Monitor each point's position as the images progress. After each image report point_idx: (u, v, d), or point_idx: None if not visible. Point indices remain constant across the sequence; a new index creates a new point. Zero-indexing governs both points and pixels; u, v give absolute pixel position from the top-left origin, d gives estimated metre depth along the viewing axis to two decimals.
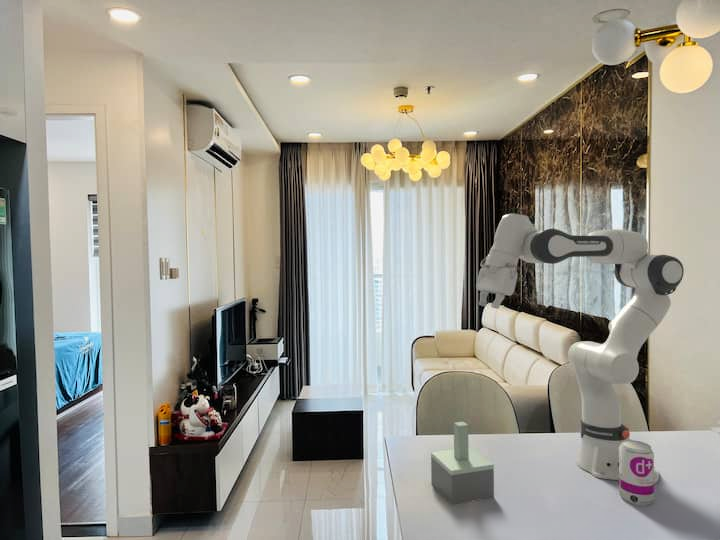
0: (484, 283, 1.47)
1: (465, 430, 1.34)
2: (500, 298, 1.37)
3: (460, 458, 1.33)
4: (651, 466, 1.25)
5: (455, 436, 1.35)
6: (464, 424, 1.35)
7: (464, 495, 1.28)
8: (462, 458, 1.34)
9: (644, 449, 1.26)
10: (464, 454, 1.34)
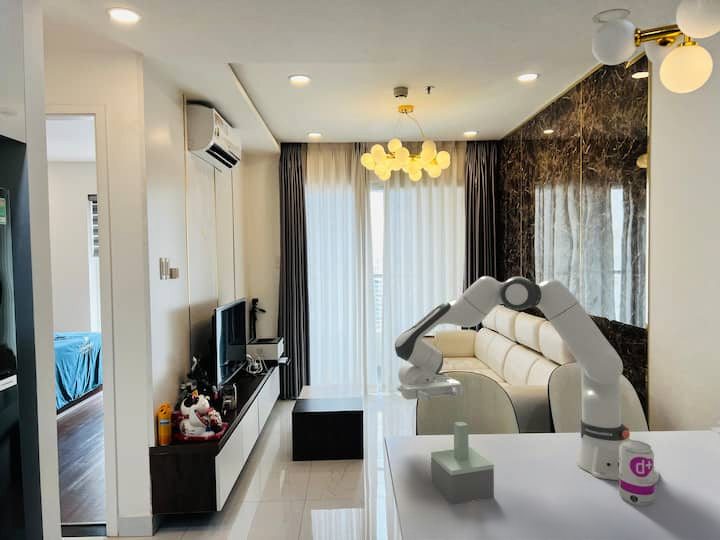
0: None
1: (465, 430, 1.34)
2: (419, 394, 1.48)
3: (460, 458, 1.33)
4: (651, 466, 1.25)
5: (455, 436, 1.35)
6: (464, 424, 1.35)
7: (464, 495, 1.28)
8: (462, 458, 1.34)
9: (644, 449, 1.26)
10: (464, 454, 1.34)
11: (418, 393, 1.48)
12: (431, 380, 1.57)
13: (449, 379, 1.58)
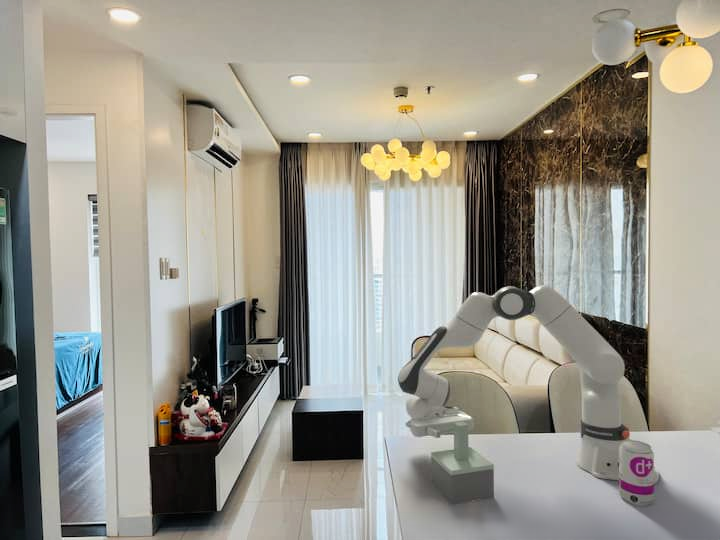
0: None
1: (465, 430, 1.34)
2: (428, 432, 1.42)
3: (460, 458, 1.33)
4: (651, 466, 1.25)
5: (455, 436, 1.35)
6: (464, 424, 1.35)
7: (464, 495, 1.28)
8: (462, 458, 1.34)
9: (644, 449, 1.26)
10: (464, 454, 1.34)
11: (428, 430, 1.42)
12: (441, 414, 1.51)
13: (459, 413, 1.52)
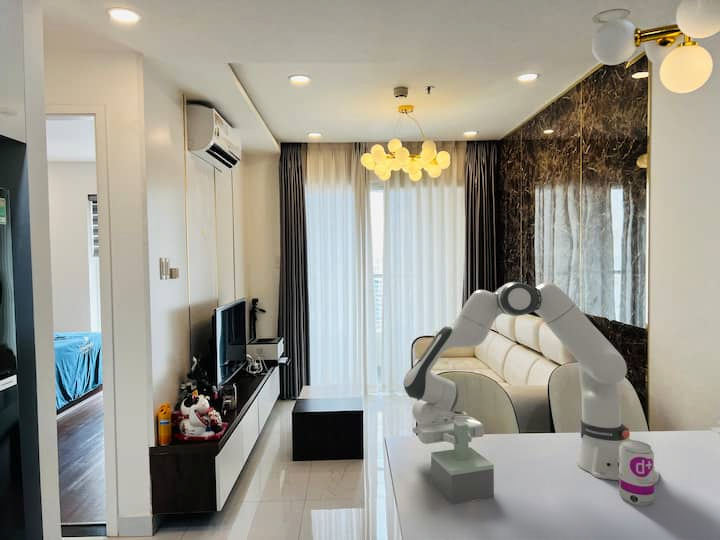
0: None
1: (465, 430, 1.34)
2: (445, 437, 1.36)
3: (460, 458, 1.33)
4: (651, 466, 1.25)
5: None
6: (464, 424, 1.35)
7: (464, 495, 1.28)
8: (462, 458, 1.34)
9: (644, 449, 1.26)
10: (464, 454, 1.34)
11: (444, 436, 1.37)
12: (449, 420, 1.45)
13: (469, 419, 1.46)
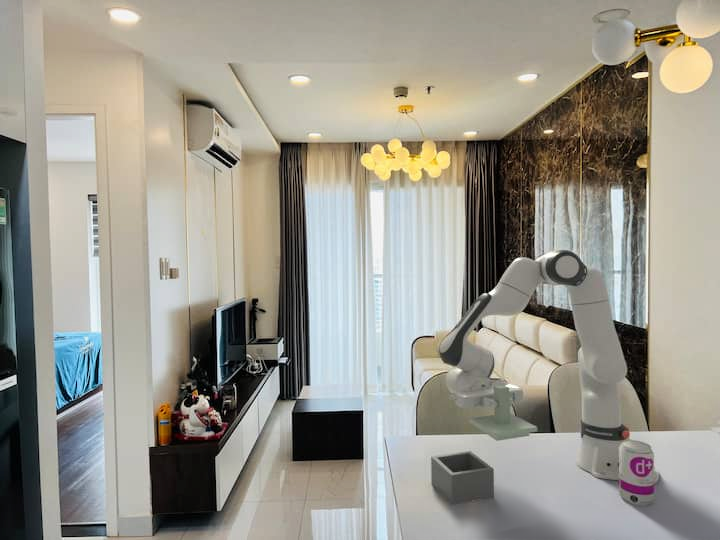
0: None
1: (506, 393, 1.30)
2: (485, 402, 1.32)
3: (502, 422, 1.29)
4: (651, 466, 1.25)
5: None
6: (505, 387, 1.31)
7: (464, 495, 1.28)
8: (504, 422, 1.30)
9: (644, 449, 1.26)
10: (505, 417, 1.30)
11: (484, 400, 1.32)
12: (487, 386, 1.41)
13: (507, 384, 1.42)
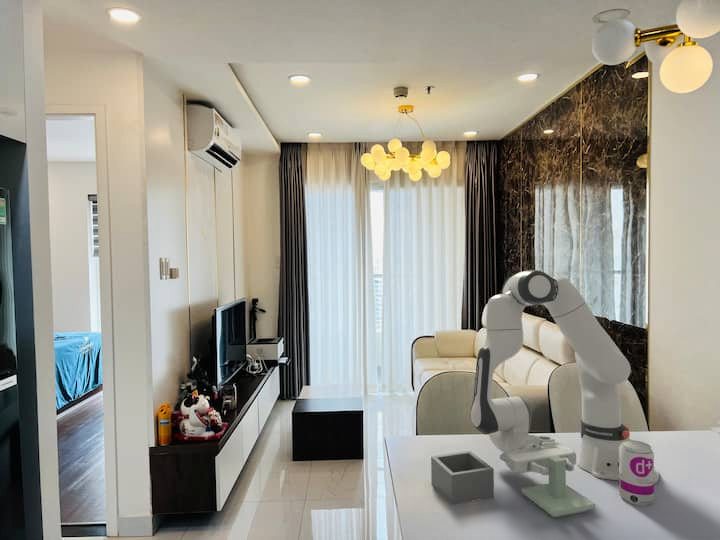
0: None
1: (562, 466, 1.25)
2: (534, 468, 1.27)
3: (557, 496, 1.25)
4: (651, 466, 1.25)
5: (550, 472, 1.26)
6: (561, 459, 1.26)
7: (464, 495, 1.28)
8: (559, 496, 1.25)
9: (644, 449, 1.26)
10: (561, 491, 1.25)
11: (533, 466, 1.27)
12: (538, 446, 1.36)
13: (558, 445, 1.37)
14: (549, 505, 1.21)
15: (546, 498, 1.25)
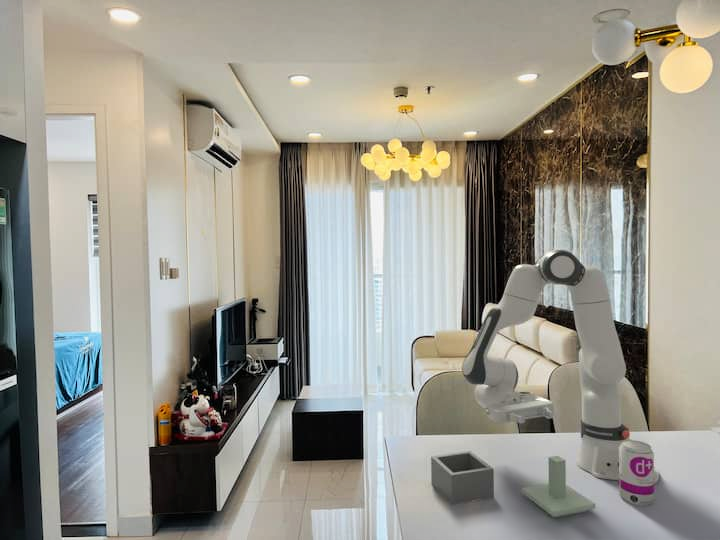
0: None
1: (562, 466, 1.25)
2: (511, 417, 1.36)
3: (557, 496, 1.25)
4: (651, 466, 1.25)
5: (550, 472, 1.26)
6: (561, 459, 1.26)
7: (464, 495, 1.28)
8: (559, 496, 1.25)
9: (644, 449, 1.26)
10: (561, 491, 1.25)
11: (510, 416, 1.36)
12: (518, 400, 1.45)
13: (537, 398, 1.46)
14: (549, 505, 1.21)
15: (546, 498, 1.25)
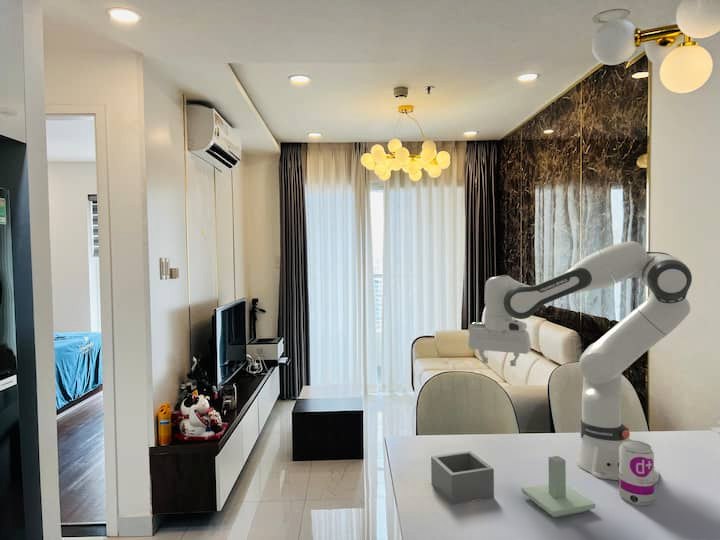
0: None
1: (562, 466, 1.25)
2: None
3: (557, 496, 1.25)
4: (651, 466, 1.25)
5: (550, 472, 1.26)
6: (561, 459, 1.26)
7: (464, 495, 1.28)
8: (559, 496, 1.25)
9: (644, 449, 1.26)
10: (561, 491, 1.25)
11: None
12: (500, 334, 1.55)
13: (520, 337, 1.52)
14: (549, 505, 1.21)
15: (546, 498, 1.25)
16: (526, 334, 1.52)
